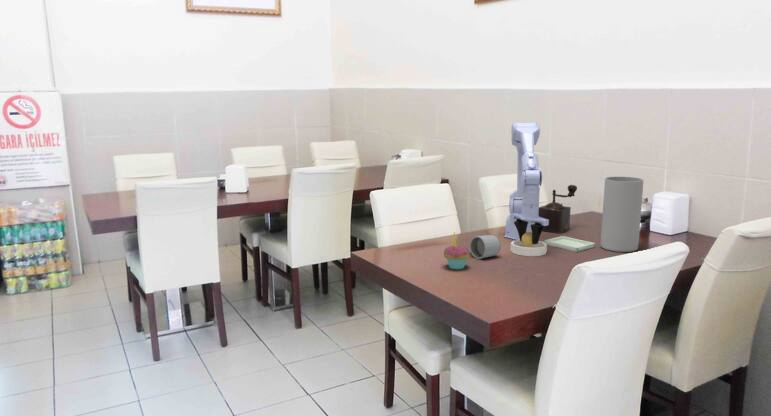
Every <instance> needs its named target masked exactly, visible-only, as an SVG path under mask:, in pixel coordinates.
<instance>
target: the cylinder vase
mask: <svg viewBox="0 0 771 416" xmlns="http://www.w3.org/2000/svg"><path fill="white" fill-rule="evenodd" d="M643 191H644V179H643V178H639V177H631V176H608V177H607V176H606V177H605V178H604V187H603V202H602V203H603V204H602V216H601V217H602V220H601V234H600V247H601V248H602V249H604V250H607V251H611V252H615V253H632V252H635V251H637V250H638V249H639V241H640V232H641V231H640V229H641V216H642V205H643V193H644V192H643Z"/></svg>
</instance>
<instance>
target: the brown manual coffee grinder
mask: <svg viewBox="0 0 771 416" xmlns="http://www.w3.org/2000/svg"><path fill="white" fill-rule="evenodd" d="M567 190H568V193H567V195H565V194H564V195H563V194H557V190H556V189H553V190H552V194H551V195H552V202H549V203H547V204H546V205H545V204H544V205H541V206H539V214H538V216H539V217H542V218H544V219H548V220H549V225H547V226H545V228H544V229H543V231H542V232H544V233H552V234H559V235H560V234H562V233H566V232H567V231H569V230H570V229H571V228H570V227H571V226H570V225H571V206H566V205H565V206H564V205H563V203H560V202H556V197H558V198H559V197H560V198H572V197H575V193H576V191H577V190H578V186H576V185H574V184H570V185H568V186H567Z"/></svg>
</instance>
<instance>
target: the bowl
mask: <svg viewBox="0 0 771 416" xmlns="http://www.w3.org/2000/svg"><path fill="white" fill-rule="evenodd" d="M547 250H548V245H547V244H546V243H544V241H540V240H539V241H538V244H534V245H533V246H525V245H524V244H523V243H522V241H520V240H515V239H514V240H512V241H511V242H510V250H509V251H510V252H511V253H512V254H514V255H519V256H521V257H522V256H526V257H540V256H544V255H546V254H547Z"/></svg>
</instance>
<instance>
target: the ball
mask: <svg viewBox="0 0 771 416" xmlns="http://www.w3.org/2000/svg"><path fill="white" fill-rule="evenodd" d="M522 243H523V244H524V245H525V246H533V245H534V244H533V243H532V231H531V232H527V233H525V234H523V236H522Z"/></svg>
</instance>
